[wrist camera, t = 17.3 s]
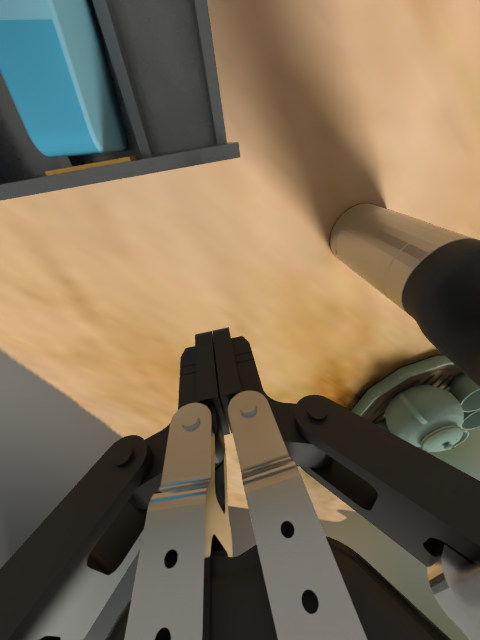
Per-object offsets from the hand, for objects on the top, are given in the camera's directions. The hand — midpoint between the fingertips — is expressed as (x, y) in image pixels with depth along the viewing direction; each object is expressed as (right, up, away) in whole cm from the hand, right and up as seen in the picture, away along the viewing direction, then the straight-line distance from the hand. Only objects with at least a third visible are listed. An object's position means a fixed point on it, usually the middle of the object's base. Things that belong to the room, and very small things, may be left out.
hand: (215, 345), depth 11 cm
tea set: (+52, -23, +63) cm, 85 cm away
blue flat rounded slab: (-14, +25, +14) cm, 32 cm away
